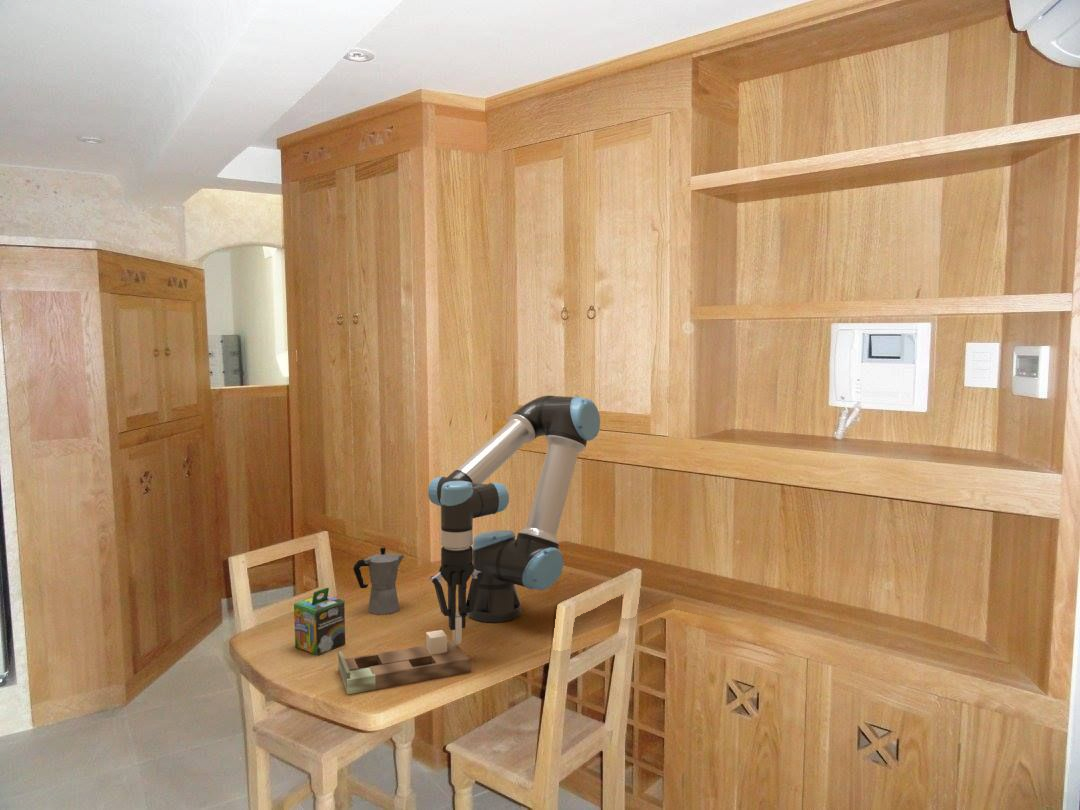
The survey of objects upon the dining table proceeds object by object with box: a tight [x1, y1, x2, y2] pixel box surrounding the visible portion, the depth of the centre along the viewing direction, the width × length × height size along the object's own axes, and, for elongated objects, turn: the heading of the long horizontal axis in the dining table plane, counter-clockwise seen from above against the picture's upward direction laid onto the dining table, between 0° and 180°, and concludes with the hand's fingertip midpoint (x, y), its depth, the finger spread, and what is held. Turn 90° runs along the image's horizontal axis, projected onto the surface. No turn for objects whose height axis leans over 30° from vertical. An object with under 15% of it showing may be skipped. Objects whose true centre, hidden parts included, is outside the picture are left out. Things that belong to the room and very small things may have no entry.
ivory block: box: [425, 629, 448, 655], centre depth 179 cm, size 4×4×4 cm
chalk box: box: [293, 587, 346, 657], centre depth 187 cm, size 9×9×15 cm
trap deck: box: [337, 640, 472, 695], centre depth 173 cm, size 28×13×4 cm, turn 114°
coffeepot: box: [352, 547, 405, 616], centre depth 212 cm, size 15×9×18 cm, turn 126°
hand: (457, 641), depth 181 cm, fingers closed
